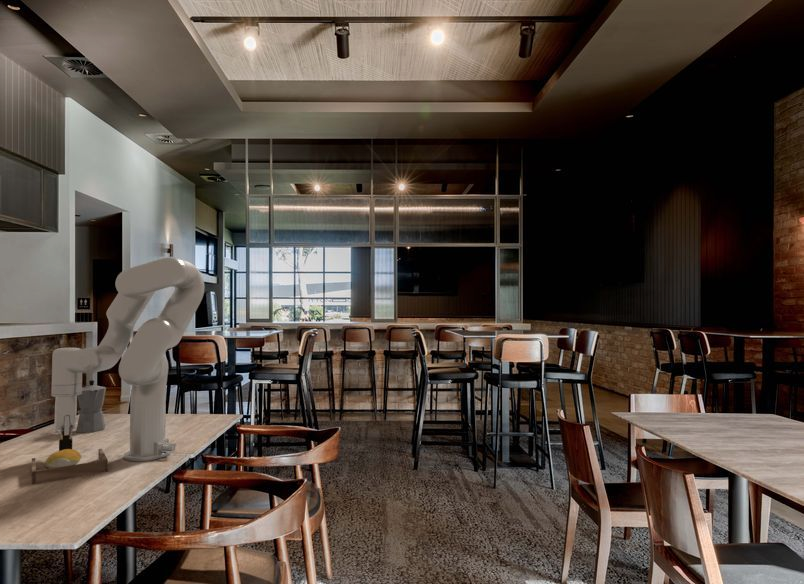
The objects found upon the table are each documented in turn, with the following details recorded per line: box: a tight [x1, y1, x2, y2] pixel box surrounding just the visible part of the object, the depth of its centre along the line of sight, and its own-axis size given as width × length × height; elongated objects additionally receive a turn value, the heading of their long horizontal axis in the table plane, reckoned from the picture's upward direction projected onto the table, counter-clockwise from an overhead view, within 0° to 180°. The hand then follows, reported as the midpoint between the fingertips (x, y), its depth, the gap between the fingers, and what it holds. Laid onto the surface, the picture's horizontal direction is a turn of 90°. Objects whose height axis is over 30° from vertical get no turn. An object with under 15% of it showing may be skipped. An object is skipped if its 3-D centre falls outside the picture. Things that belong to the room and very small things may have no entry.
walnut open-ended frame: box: [31, 448, 109, 485], centre depth 139 cm, size 15×17×3 cm
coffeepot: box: [76, 379, 107, 434], centre depth 188 cm, size 15×9×18 cm, turn 44°
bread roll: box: [44, 448, 82, 469], centre depth 146 cm, size 8×9×4 cm
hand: (65, 452), depth 151 cm, fingers closed
